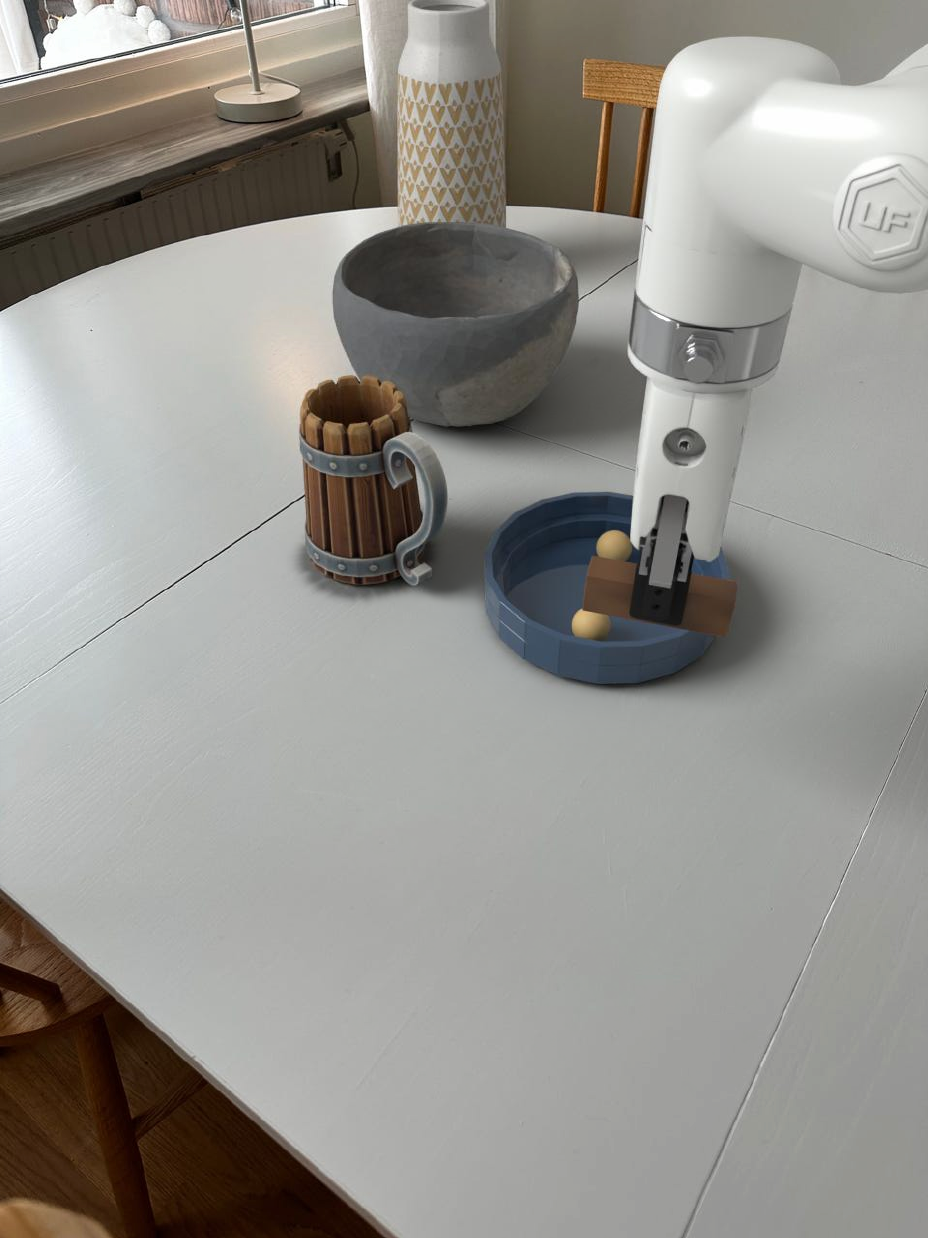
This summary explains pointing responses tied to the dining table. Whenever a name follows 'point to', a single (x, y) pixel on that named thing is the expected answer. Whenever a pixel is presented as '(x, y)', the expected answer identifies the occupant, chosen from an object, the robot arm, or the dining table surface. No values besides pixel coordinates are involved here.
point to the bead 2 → (614, 546)
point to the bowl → (457, 317)
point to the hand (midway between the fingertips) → (658, 602)
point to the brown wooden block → (702, 614)
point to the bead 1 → (591, 625)
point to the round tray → (576, 593)
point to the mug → (367, 483)
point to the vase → (450, 117)
